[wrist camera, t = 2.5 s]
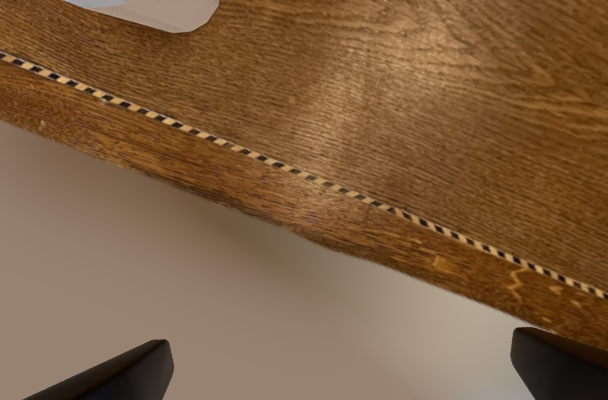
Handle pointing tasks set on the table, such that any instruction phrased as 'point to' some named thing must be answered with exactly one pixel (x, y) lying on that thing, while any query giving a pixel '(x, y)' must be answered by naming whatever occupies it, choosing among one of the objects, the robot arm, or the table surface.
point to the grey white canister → (156, 12)
